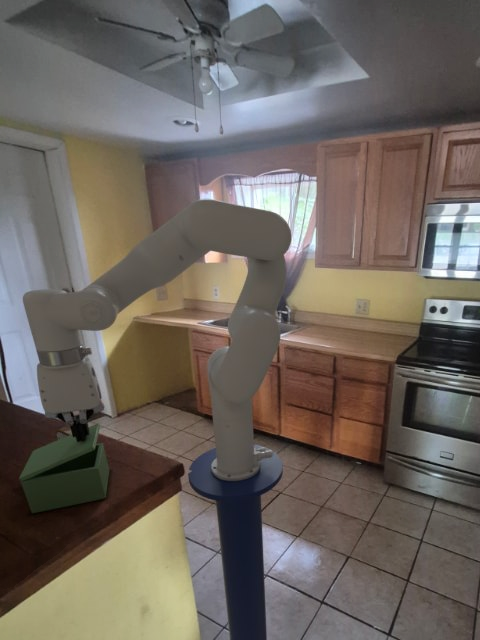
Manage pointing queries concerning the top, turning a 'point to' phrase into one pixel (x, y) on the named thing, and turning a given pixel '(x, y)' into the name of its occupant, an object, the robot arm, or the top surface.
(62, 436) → the tin
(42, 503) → the chest
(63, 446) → the lid
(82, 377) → the robot arm
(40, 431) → the top surface
